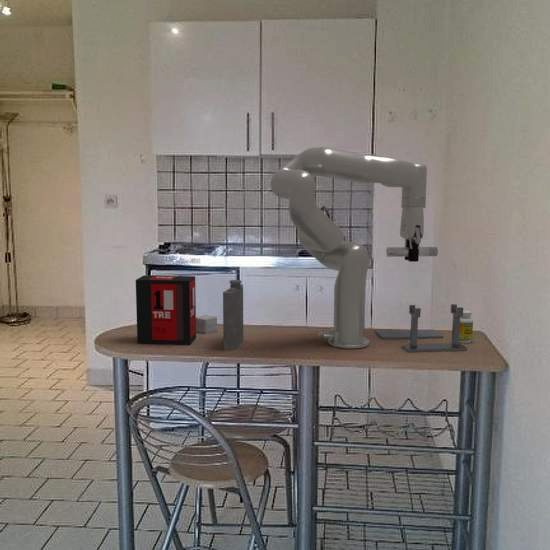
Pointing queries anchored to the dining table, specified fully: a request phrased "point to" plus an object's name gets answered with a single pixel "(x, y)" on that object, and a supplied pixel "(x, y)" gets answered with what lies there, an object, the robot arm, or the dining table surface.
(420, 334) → the slate mat
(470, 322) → the supplement bottle
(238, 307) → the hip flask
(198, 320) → the small box
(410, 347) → the hook stand
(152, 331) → the cleaning product box
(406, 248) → the grey metallic bar
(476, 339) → the dining table surface
